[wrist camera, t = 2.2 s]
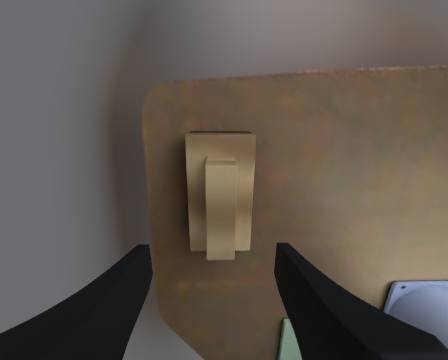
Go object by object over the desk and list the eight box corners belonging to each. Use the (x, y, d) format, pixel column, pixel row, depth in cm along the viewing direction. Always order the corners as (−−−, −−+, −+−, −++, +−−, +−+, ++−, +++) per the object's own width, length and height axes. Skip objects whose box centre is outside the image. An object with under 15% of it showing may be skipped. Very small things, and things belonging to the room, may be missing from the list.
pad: (358, 317, 25) (361, 321, 25) (338, 386, 30) (340, 392, 29) (283, 318, 25) (284, 323, 25) (273, 388, 29) (274, 394, 29)
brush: (189, 130, 18) (177, 140, 13) (251, 131, 18) (265, 141, 13) (193, 234, 21) (185, 277, 16) (245, 233, 21) (255, 276, 16)
